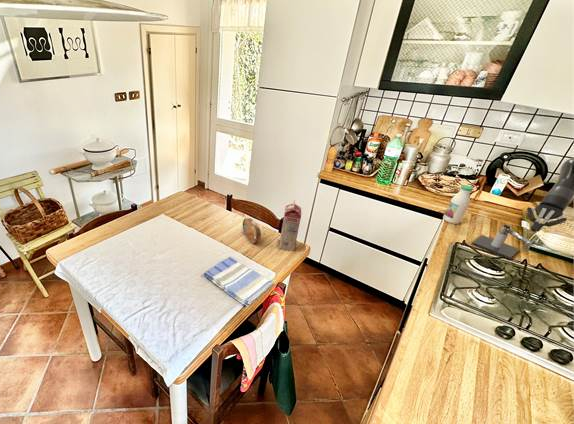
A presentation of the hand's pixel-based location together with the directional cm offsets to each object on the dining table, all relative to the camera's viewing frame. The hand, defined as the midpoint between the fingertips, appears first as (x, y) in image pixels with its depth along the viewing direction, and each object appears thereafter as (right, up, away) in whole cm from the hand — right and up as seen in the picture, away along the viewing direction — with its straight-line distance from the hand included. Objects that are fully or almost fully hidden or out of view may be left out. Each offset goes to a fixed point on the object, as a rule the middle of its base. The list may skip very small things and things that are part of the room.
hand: (533, 230), depth 132 cm
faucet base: (-7, -8, +10) cm, 15 cm away
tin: (-121, -4, +15) cm, 122 cm away
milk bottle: (-10, +4, +32) cm, 34 cm away
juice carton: (-105, -7, +10) cm, 106 cm away
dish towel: (-130, -19, -13) cm, 132 cm away
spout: (-7, -4, +2) cm, 9 cm away
